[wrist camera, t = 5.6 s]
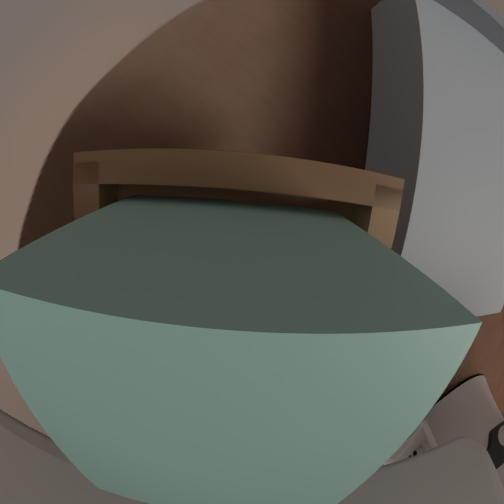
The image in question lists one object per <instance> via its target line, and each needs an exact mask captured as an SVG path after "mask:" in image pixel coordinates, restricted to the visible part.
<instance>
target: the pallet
mask: <svg viewBox="0 0 504 504" xmlns="http://www.w3.org/2000/svg"><path fill="white" fill-rule="evenodd" d="M404 182H405V179H401V178H397V177H393V176H389V175H385V174H381V173H376V172H372V171H367V170H362V169H357V168H352V167H347V166H342V165H336V164H331V163H325V162H319V161H312V160H306V159H299V158H292V157H284V156H276V155H267V154H257V153H247V152H235V151H221V150H203V149H168V148H147V149H113V150H96V151H83V152H74V155H73V206H74V221H75V220H77V219H79V218H81V217H83V216H85V215H88V214H90V213H92V212H94V211H97V210H99V209H101V208H103V207H106V206H108V205H110V204H113V203H115V202H118V201H120V200H122V199H125V198H127V197H130V196H132V195H151V196H174V197H193V198H208V199H223V200H235V201H247V202H258V203H269V204H279V205H288V206H298V207H306V208H315V209H323V210H331V211H335V212H337V213H338V214H340V215H342V216H343V217H345V218H346V219H348V220H349V221H351V222H352V223H354V224H355V225H357V226H358V227H360V228H361V229H363V230H364V231H366V232H367V233H369V234H370V235H372V236H373V237H375V238H376V239H377V240H379V241H380V242H382V243H383V244H385V245H386V246H387V247H389V248H390V249H391V248H392V244H393V240H394V236H395V231H396V226H397V222H398V217H399V211H400V206H401V200H402V195H403V188H404Z"/></svg>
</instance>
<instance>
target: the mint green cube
mask: <svg viewBox="0 0 504 504" xmlns="http://www.w3.org/2000/svg"><path fill="white" fill-rule="evenodd" d="M481 324H482V322H481V321H480V320H479V319H478V318H477V317H476V316H475V315H473V314H472V313H471V312H470V311H469V310H468V309H467V308H465V307H464V306H463V305H462V304H461V303H460V302H458V301H457V300H456V299H455V298H454V297H453V296H451V295H450V294H449V293H448V292H446V291H445V290H444V289H443V288H442V287H440V286H439V285H438V284H437V283H435V282H434V281H433V280H432V279H430V278H429V277H428V276H426V275H425V274H424V273H423V272H421V271H420V270H419V269H417V268H416V267H415V266H413V265H412V264H411V263H409V262H408V261H407V260H405V259H404V258H403V257H401V256H400V255H398V254H397V253H396V252H394V251H393V250H392V249H390V248H389V247H387V246H386V245H385V244H383V243H382V242H380V241H379V240H377V239H376V238H375V237H373V236H372V235H370V234H369V233H367V232H366V231H364V230H363V229H361V228H360V227H358V226H357V225H355V224H354V223H352V222H351V221H349V220H348V219H346V218H345V217H343V216H342V215H340V214H338V213H337V212H335V211H331V210H323V209H315V208H306V207H298V206H288V205H279V204H269V203H258V202H247V201H235V200H223V199H208V198H193V197H174V196H151V195H132V196H130V197H127V198H125V199H122V200H120V201H118V202H115V203H113V204H110V205H108V206H106V207H103V208H101V209H99V210H97V211H94V212H92V213H90V214H88V215H85V216H83V217H81V218H79V219H77V220H75V221H73V222H71V223H68V224H66V225H64V226H62V227H60V228H58V229H56V230H54V231H52V232H50V233H48V234H47V235H45V236H43V237H41V238H39V239H37V240H35V241H33V242H31V243H30V244H28V245H26V246H24V247H22V248H21V249H19V250H17V251H15V252H14V253H12V254H11V255H9V256H7V257H5V258H4V259H2V260H0V358H1V360H2V362H3V364H4V366H5V368H6V370H7V372H8V374H9V376H10V377H11V379H12V381H13V383H14V385H15V386H16V388H17V390H18V391H19V393H20V395H21V396H22V398H23V399H24V401H25V403H26V404H27V406H28V407H29V409H30V410H31V412H32V413H33V415H34V416H35V417H36V419H37V420H38V422H39V423H40V424H41V426H42V427H43V429H44V430H45V431H46V432H47V434H48V435H49V436H50V438H51V439H52V440H53V441H54V443H55V444H56V445H57V446H58V447H59V449H60V450H61V451H62V452H63V453H64V454H65V456H66V457H67V458H68V459H69V460H70V461H71V462H72V463H73V464H74V465H75V467H76V468H77V469H78V470H79V471H80V472H81V473H82V474H83V475H84V476H85V477H86V478H87V479H88V480H89V481H90V482H91V483H92V484H94V485H95V486H96V487H97V488H99V489H102V490H104V491H107V492H110V493H113V494H117V495H120V496H123V497H127V498H130V499H134V500H138V501H141V502H146V503H150V504H338V503H339V502H340V501H342V500H343V499H344V498H346V497H347V496H348V495H349V494H351V493H352V492H353V491H354V490H355V489H357V488H358V487H359V486H360V485H361V484H362V483H364V482H365V481H366V480H367V479H368V478H369V477H370V476H371V475H372V474H374V473H375V472H376V471H377V470H378V469H379V468H380V467H381V466H382V465H383V464H384V463H385V462H386V461H387V460H388V459H389V458H390V457H391V456H392V455H393V454H394V453H395V452H396V451H397V450H398V448H399V447H400V446H401V445H402V444H403V443H404V442H405V441H406V440H407V438H408V437H409V436H410V435H411V434H412V433H413V431H414V430H415V429H416V428H417V427H418V425H419V424H420V423H421V422H422V420H423V419H424V418H425V416H426V415H427V414H428V413H429V411H430V410H431V409H432V407H433V406H434V404H435V403H436V402H437V400H438V399H439V397H440V396H441V394H442V393H443V392H444V390H445V389H446V387H447V386H448V384H449V382H450V381H451V379H452V378H453V376H454V374H455V373H456V371H457V370H458V368H459V366H460V364H461V363H462V361H463V359H464V357H465V356H466V354H467V352H468V350H469V348H470V346H471V344H472V342H473V341H474V339H475V337H476V335H477V332H478V330H479V328H480V326H481Z"/></svg>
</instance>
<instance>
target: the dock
mask: <svg viewBox="0 0 504 504" xmlns="http://www.w3.org/2000/svg"><path fill="white" fill-rule="evenodd" d="M371 19H372V49H373V66H372V97H371V114H370V127H369V138H368V147H367V156H366V164H365V170H367V171H372V172H376V173H381V174H385V175H389V176H393V177H397V178H401V179H405V182H404V188H403V195H402V200H401V206H400V211H399V217H398V222H397V226H396V231H395V236H394V240H393V244H392V248H391V249H392V250H393V251H394V252H396V253H397V254H398V255H400V256H401V257H403V258H404V259H405V260H407V261H408V262H409V263H411V264H412V265H413V266H415V267H416V268H417V269H419V270H420V271H421V272H423V273H424V274H425V275H426V276H428V277H429V278H430V279H432V280H433V281H434V282H435V283H437V284H438V285H439V286H440V287H442V288H443V289H444V290H445V291H446V292H448V293H449V294H450V295H451V296H453V297H454V298H455V299H456V300H457V301H458V302H460V303H461V304H462V305H463V306H464V307H465V308H467V309H468V310H469V311H470V312H471V313H472V314H473V315H475V316H482V315H488V314H493V313H499V312H501V309H502V307H503V305H504V19H503V18H502V17H501V16H500V15H499V14H498V13H497V12H496V11H495V10H494V9H493V8H492V7H490V6H489V5H488V4H487V3H486V2H485V1H484V0H381V1H380V2H379V3H378V4H377V5H376V6H374V7H373V8H372V9H371Z"/></svg>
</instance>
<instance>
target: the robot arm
mask: <svg viewBox="0 0 504 504" xmlns="http://www.w3.org/2000/svg"><path fill="white" fill-rule="evenodd" d="M503 463H504V418H503V417H502V415H501V413H500V411H499V409H498V407H497V405H496V403H495V401H494V399H493V397H492V394H491V392H490V390H489V387H488V384H487V381H486V378H485V376H482V375H480V376H476V377H474V378H472V379H470V380H468V381H466V382H465V383H463V384H462V385H460V386H459V387H457V388H456V389H455V390H453V391H452V392H451V393H449V394H448V395H447V396H445V397H444V398H443V399H442V400H440V401H439V402H438V403H437V404H436V405H434V406H433V407H432V409H431V410H430V411H429V413H428V414H427V415H426V416H425V418H424V419H423V420H422V422H421V423H420V424H419V425H418V427H417V428H416V429H415V430H414V431H413V433H412V434H411V435H410V436H409V437H408V438H407V440H406V441H405V442H404V443H403V444H402V445H401V446H400V447H399V448H398V450H397V451H396V452H395V453H394V454H393V455H392V456H391V457H390V458H389V459H388V460H387V461H386V462H385V463H384V464H383V465H382V466H381V467H380V468H379V469H378V470H377V471H376V472H375V473H374V474H372V475H371V476H370V477H369V478H368V479H367V480H366V481H365V482H364V483H362V484H361V485H360V486H359V487H358V488H357V489H355V490H354V491H353V492H352V493H351V494H349V495H348V496H347V497H346V498H344V499H343V500H342V501H340V502H339V503H338V504H504V464H503ZM502 464H503V465H502ZM498 467H499V468H498ZM497 468H498V469H497ZM496 469H497V470H496ZM0 504H150V503H146V502H141V501H138V500H134V499H130V498H127V497H123V496H120V495H117V494H113V493H110V492H107V491H104V490H102V489H99V488H97V487H96V486H95V485H94V484H92V483H91V482H90V481H89V480H88V479H87V478H86V477H85V476H84V475H83V474H82V473H81V472H80V471H79V470H78V469H77V468H76V467H75V465H74V464H73V463H72V462H71V461H70V460H69V459H68V458H67V457H66V456H65V454H64V453H63V452H62V451H61V450H60V449H59V447H58V446H57V445H56V444H55V443H54V441H53V440H52V439H51V438H50V437H48V436H47V435H44V434H43V433H40V432H39V431H37V430H35V429H33V428H31V427H29V426H27V425H26V424H24V423H22V422H20V421H18V420H17V419H15V418H14V417H12V416H10V415H9V414H7V413H5V412H4V411H3V410H1V409H0Z"/></svg>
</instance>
